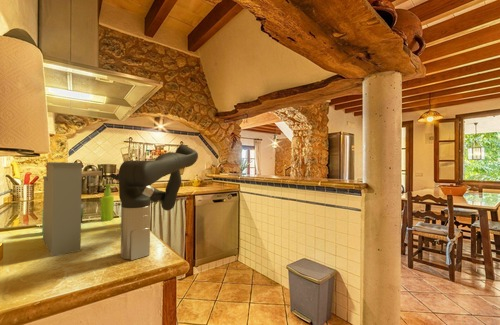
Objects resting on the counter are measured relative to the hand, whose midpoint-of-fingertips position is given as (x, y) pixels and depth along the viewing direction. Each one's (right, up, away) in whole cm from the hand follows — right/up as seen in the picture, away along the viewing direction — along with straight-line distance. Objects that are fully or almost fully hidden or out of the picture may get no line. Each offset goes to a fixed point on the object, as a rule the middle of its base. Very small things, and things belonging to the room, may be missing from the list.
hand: (113, 175), depth 111 cm
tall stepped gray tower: (-8, -26, -21) cm, 35 cm away
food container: (-25, -26, +9) cm, 37 cm away
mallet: (-10, 0, -11) cm, 15 cm away
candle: (-24, -26, -8) cm, 36 cm away
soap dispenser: (-13, -26, +16) cm, 33 cm away
